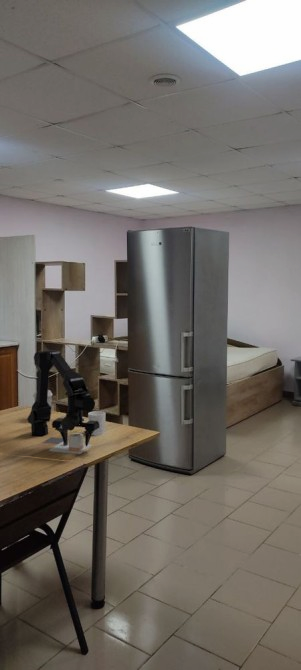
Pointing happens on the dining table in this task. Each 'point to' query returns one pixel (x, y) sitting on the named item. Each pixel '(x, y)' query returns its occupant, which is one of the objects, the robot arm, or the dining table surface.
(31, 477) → the dining table surface
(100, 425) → the white cup
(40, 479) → the dining table surface
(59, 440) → the mat
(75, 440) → the sleeve
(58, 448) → the pin board
